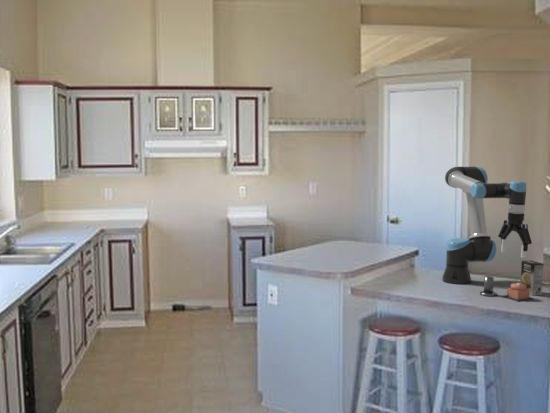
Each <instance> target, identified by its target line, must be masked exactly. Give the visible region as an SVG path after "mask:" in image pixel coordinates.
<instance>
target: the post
mask: <svg viewBox="0 0 550 413" xmlns="http://www.w3.org/2000/svg"><path fill="white" fill-rule="evenodd" d="M483 279H484V280H483V290H481V291H479V295H481V296H482V295H483V296H482V297H493V298H494V297H496V296H497V294H498V293H497V292H496V291H494V281H495V280H494V276H491V275H486V276H484V278H483Z"/></svg>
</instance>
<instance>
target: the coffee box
mask: <svg viewBox="0 0 550 413" xmlns="http://www.w3.org/2000/svg"><path fill="white" fill-rule="evenodd" d="M544 265H545V264H544V263H543V262H538V261H534V260H522V261H521V271H520V284H524V285H526V289H528V290H530V291H529V294H530V295H529V296H541V295H542V293H543V280H544V279H543V278H544Z"/></svg>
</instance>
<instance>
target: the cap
mask: <svg viewBox="0 0 550 413" xmlns="http://www.w3.org/2000/svg"><path fill="white" fill-rule="evenodd" d="M506 290H507V291H506V292H507V293H506V295H507V296H509V297H512V298H515V299H525V298H529V297H530V295H529V291H530V290H528V289H526V285H524V284H521V282H515V283H511V284H510V287H508V288H507V289H506Z"/></svg>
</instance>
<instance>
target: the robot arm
mask: <svg viewBox="0 0 550 413" xmlns="http://www.w3.org/2000/svg"><path fill="white" fill-rule="evenodd" d="M444 181H445V183H446V184H447V185H448V186H449V187H451V188H454V189H460V190H462V192H463V193H465V194H466V196H465V197H466V202H467V203H466V204H467V213H468V221H469V229H470V235H469V237H468V238H467V237H459V238H458V237H457V238H452V239H451V238H450V240H448V241H447V244H446V260H445V262H446V264H445V269H444V272H443V274H442V277H441V278H442V279H441V280H442V281H443V282H444V283H447V284H453V285H455V284H456V285H465V284H470V283H472V277H471V273H470V270H469V263H480V262H482V263H486V262H491V261H492V260H494V259H495V256H496V254H497V245H496V244H497V243H496V242H495V241H494V240H492V238H491V235H489V234H488V232H487V231H488V229H487V221H486V212H485V206H484V204H485V203H484V199H507V200H508V213H507V220H504V221H503V224H502V226H501V229H500V231H499V233H498V235H497V236H498V238H500V239H501V240H500V242H501V243H500V245H501V249H500V250H501V251H500V252H501V253H506V252H507V248H508V239H507V238H508V236H510V234H511V233H512V232H516V233H517V234H518V236H519V238H520V240H521V242H522V244H521V249H520V252H521V253H520V258H522V259H523V258H527V252H528V248H529V245H531V244H532V243H533V242H532V239H531V235H530V231H529V226H528V224H527V223H524V221H525V210H526V197H527V182H525V181H522V180H521V181H520V180H512V181H510V183H508V182H499V183H497V182H496V183H493V182H492V183H488V174H487V172H486V170H485V169H484V168H483V167H481V166H475V165H474V166H455V167H454V166H452V168H449V169H448V170H447V171H446V173H445V175H444ZM523 223H524V224H523Z"/></svg>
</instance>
